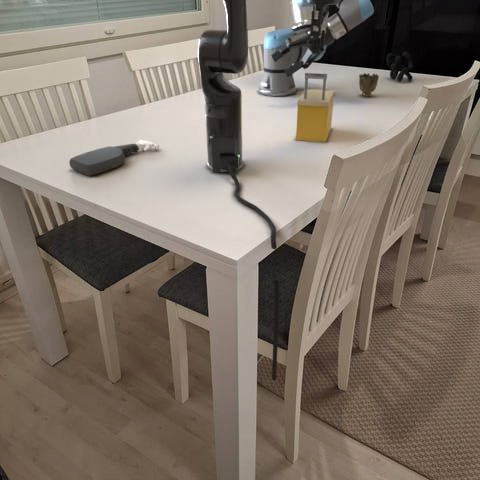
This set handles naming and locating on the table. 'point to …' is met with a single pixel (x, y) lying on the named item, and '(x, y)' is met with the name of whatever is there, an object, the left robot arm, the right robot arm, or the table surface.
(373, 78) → the cup
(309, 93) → the lid
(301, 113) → the yellow hollow box
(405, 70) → the squiggle
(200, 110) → the table surface
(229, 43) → the left robot arm
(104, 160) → the spray bottle
